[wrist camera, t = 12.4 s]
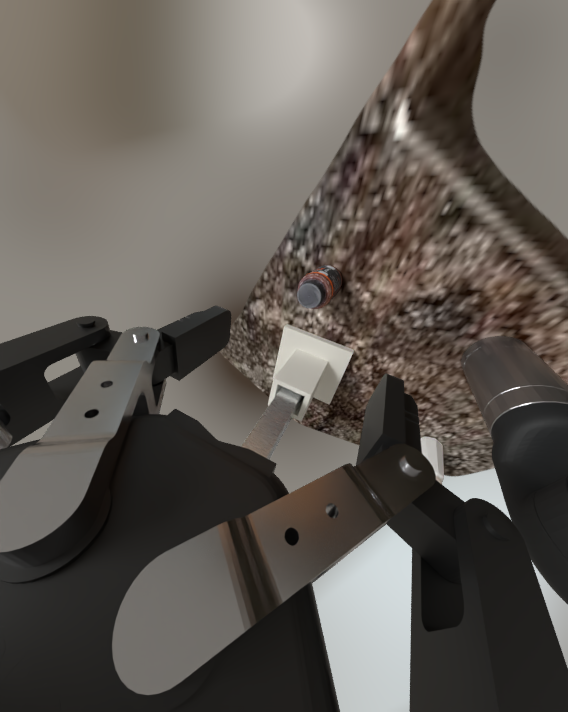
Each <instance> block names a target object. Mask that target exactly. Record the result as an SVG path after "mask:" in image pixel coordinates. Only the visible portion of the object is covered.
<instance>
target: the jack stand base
mask: <svg viewBox="0 0 568 712" xmlns="http://www.w3.org/2000/svg"><path fill="white" fill-rule="evenodd" d="M353 352H354V350H353V349H350V348H348V347H345V346H343V345H340V344H337V343H335V342H332V341H330V340H327V339H324V338H322V337H319V336H317V335H314V334H312V333H309V332H306V331H304V330H301V329H299V328H296V327H293V326H291V325H288V324H286V325H285V326H284V330H283V335H282V339H281V344H280V348H279V353H278V357H277V362H276V366H275V371H274V375H273V379H274V380H273V384H272V389H271V393H270V398H269V402H268V406H269V405H270V404H271V402H272V401H273V399H274V398H275V396H276V395H277V394H278V392H279V391H280V389H281V388H282V386H283V387H285V388H287V389H289V390H291V391H294V392H296V393H298V394H300V395H302V396H303V398H302V400H301V402H300V404H299V405H298V407H297V409H296V411H295V413H294V415H293V418H295V419H297V420H299V421H302V419H303V417H304V415H305V413H306V411H307V409H308V407H309V404H310V402H311V400H312V398H313V397H314V398H316V399H318V400H320V401H322V402H325V403H327V404H329V405H330V403H331V400H332V398H333V396H334V394H335V392H336V389H337V387H338V385H339V383H340V381H341V378H342V376H343V374H344V372H345V370H346V368H347V365H348V363H349V361H350V359H351V357H352V354H353Z"/></svg>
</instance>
